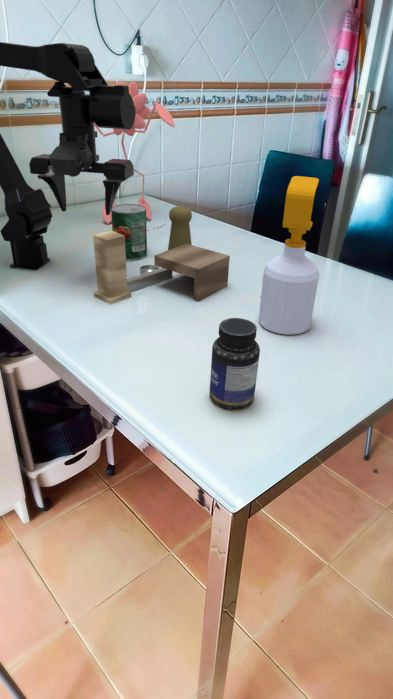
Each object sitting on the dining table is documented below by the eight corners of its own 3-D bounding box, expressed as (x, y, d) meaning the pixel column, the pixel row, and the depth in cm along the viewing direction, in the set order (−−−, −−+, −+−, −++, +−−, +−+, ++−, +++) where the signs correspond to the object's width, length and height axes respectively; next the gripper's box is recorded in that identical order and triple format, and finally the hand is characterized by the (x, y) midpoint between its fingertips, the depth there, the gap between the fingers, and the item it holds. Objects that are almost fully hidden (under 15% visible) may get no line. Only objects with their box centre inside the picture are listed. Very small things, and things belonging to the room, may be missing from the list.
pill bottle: (207, 385, 67) (210, 314, 62) (249, 384, 68) (257, 314, 62) (212, 412, 62) (216, 338, 56) (258, 411, 62) (267, 337, 57)
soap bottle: (313, 317, 87) (337, 176, 74) (306, 340, 79) (332, 187, 67) (264, 308, 89) (280, 170, 76) (253, 330, 82) (269, 181, 69)
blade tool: (94, 295, 92) (89, 234, 85) (161, 273, 103) (161, 217, 96) (110, 304, 89) (106, 241, 83) (177, 280, 100) (178, 223, 94)
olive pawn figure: (189, 259, 111) (190, 211, 105) (164, 257, 111) (164, 209, 106) (194, 251, 116) (196, 205, 110) (170, 248, 117) (170, 203, 111)
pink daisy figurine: (79, 219, 135) (66, 78, 117) (165, 214, 144) (167, 81, 125) (88, 237, 123) (76, 82, 105) (182, 230, 132) (186, 85, 113)
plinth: (154, 286, 96) (154, 255, 93) (185, 272, 103) (186, 243, 100) (197, 301, 91) (199, 269, 88) (227, 286, 98) (229, 255, 94)
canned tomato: (107, 257, 110) (103, 209, 104) (124, 247, 116) (121, 201, 111) (137, 263, 108) (135, 214, 102) (153, 252, 114) (152, 206, 108)
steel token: (137, 279, 100) (137, 270, 99) (144, 272, 103) (144, 264, 102) (155, 281, 99) (155, 272, 98) (161, 275, 102) (161, 266, 101)
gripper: (6, 127, 81) (21, 219, 89) (111, 133, 78) (117, 228, 86) (38, 121, 90) (49, 205, 98) (133, 127, 87) (136, 212, 95)
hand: (85, 212), depth 94 cm, fingers open, 9 cm apart
